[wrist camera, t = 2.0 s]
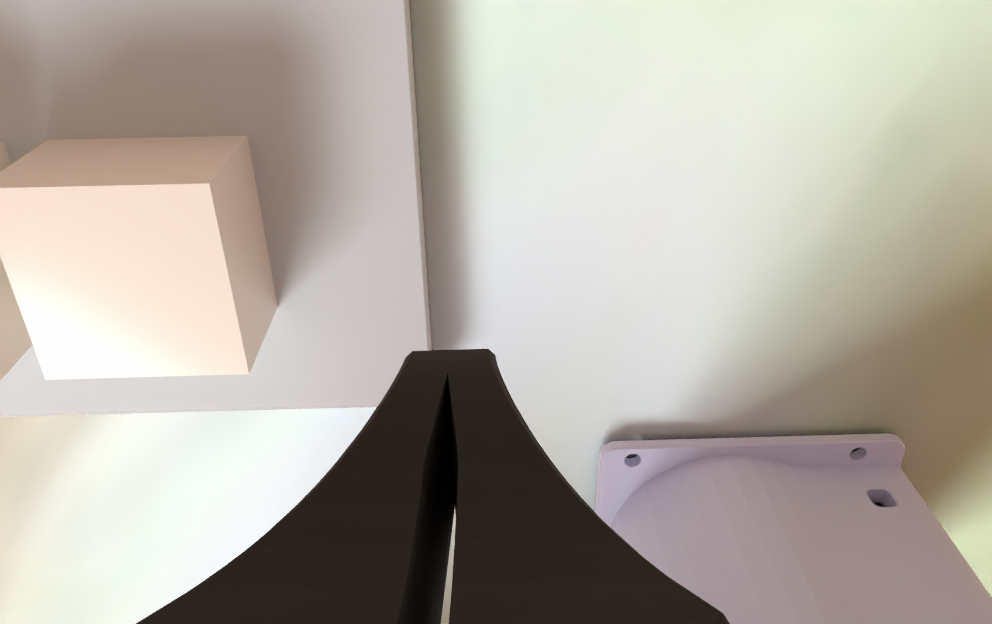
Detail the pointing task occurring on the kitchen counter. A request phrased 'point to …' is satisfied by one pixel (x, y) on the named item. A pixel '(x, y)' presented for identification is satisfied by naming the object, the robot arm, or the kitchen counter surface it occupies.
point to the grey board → (277, 168)
